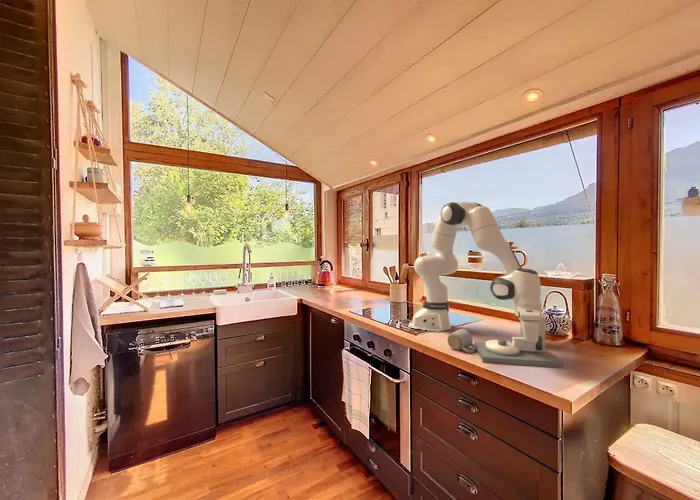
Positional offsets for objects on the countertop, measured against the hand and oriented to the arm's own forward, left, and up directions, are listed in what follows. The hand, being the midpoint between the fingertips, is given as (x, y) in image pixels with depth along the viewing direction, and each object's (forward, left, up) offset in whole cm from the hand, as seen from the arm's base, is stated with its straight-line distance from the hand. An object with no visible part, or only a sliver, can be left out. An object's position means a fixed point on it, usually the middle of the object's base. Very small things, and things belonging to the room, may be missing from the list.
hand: (529, 347), depth 110 cm
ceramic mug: (-23, +7, -5) cm, 25 cm away
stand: (-5, +3, -5) cm, 7 cm away
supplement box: (+7, +19, -5) cm, 21 cm away
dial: (-5, +3, -2) cm, 6 cm away
